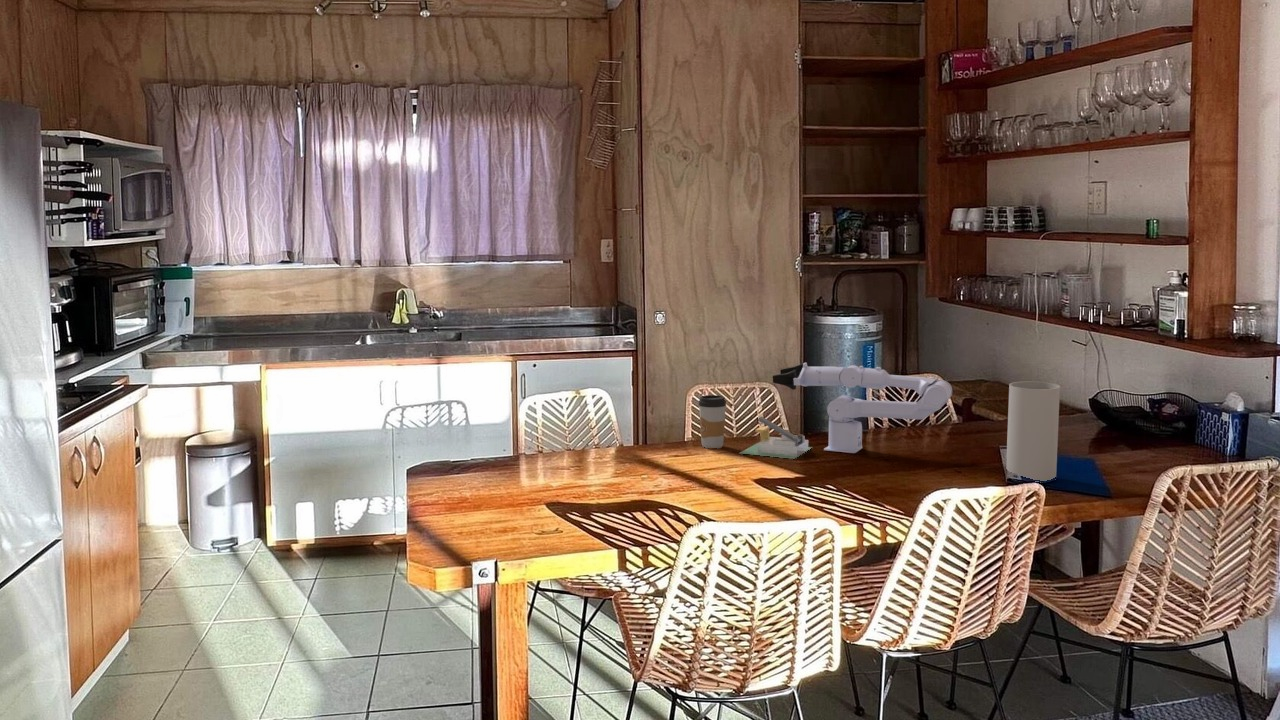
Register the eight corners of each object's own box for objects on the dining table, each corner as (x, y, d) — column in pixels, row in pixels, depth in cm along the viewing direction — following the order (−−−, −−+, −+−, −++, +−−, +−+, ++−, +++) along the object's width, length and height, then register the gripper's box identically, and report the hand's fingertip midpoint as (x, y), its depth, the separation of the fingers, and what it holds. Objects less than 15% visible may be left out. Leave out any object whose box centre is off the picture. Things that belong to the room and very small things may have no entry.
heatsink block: (808, 450, 341) (808, 433, 340) (796, 457, 332) (797, 440, 331) (769, 446, 346) (769, 429, 345) (757, 453, 337) (757, 436, 337)
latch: (769, 444, 348) (769, 426, 347) (762, 448, 343) (762, 430, 343) (761, 444, 349) (761, 426, 348) (755, 447, 344) (755, 429, 344)
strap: (800, 442, 338) (802, 438, 337) (797, 444, 335) (798, 440, 335) (760, 419, 342) (762, 415, 342) (757, 421, 340) (758, 417, 339)
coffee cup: (693, 445, 350) (693, 396, 348) (717, 442, 354) (717, 394, 351) (706, 450, 343) (706, 400, 340) (731, 447, 346) (731, 398, 344)
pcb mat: (812, 448, 344) (812, 447, 344) (794, 459, 330) (794, 458, 330) (758, 443, 352) (758, 442, 352) (738, 454, 338) (739, 453, 338)
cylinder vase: (1023, 486, 298) (1027, 390, 295) (996, 475, 310) (999, 382, 306) (1065, 482, 301) (1070, 387, 298) (1037, 471, 313) (1041, 380, 310)
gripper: (826, 357, 348) (783, 357, 353) (813, 368, 335) (768, 368, 340) (828, 380, 349) (784, 380, 355) (815, 392, 336) (770, 392, 342)
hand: (777, 376), depth 348 cm, fingers open, 7 cm apart
